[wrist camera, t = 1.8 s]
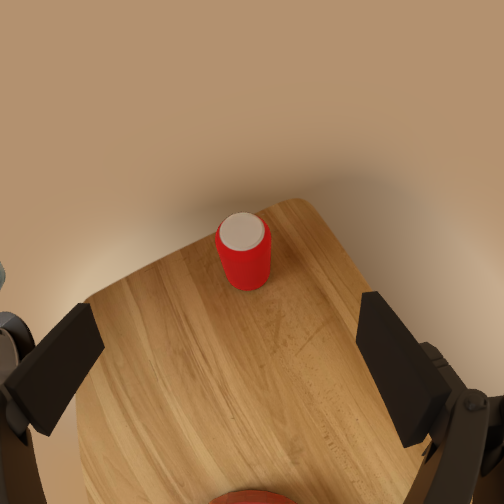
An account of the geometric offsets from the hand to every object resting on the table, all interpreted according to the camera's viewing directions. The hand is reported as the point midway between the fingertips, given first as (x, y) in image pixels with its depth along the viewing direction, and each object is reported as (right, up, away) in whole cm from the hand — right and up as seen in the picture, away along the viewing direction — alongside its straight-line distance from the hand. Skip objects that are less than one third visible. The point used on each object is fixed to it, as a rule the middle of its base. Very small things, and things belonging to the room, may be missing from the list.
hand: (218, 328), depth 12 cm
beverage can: (+1, 0, +28) cm, 28 cm away
